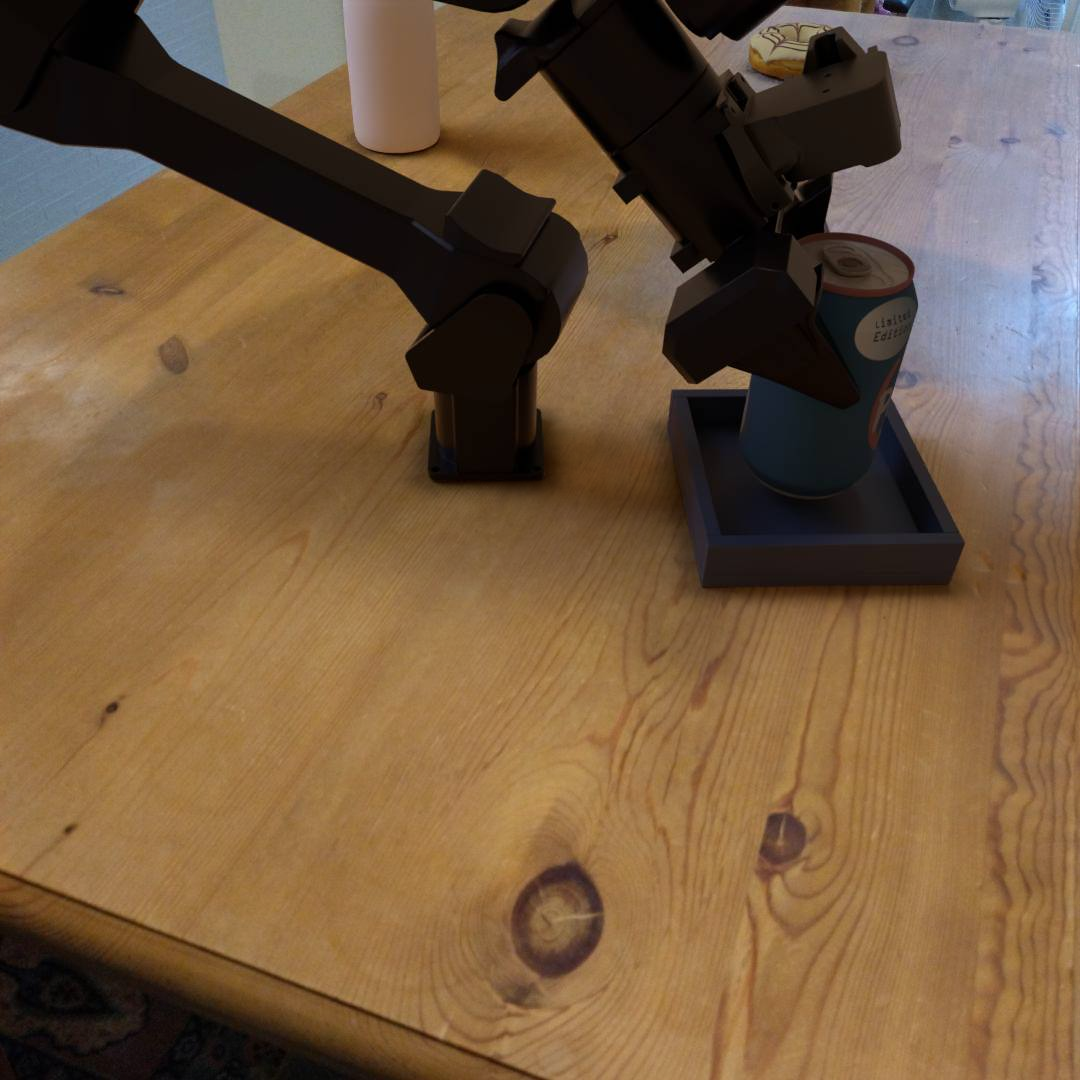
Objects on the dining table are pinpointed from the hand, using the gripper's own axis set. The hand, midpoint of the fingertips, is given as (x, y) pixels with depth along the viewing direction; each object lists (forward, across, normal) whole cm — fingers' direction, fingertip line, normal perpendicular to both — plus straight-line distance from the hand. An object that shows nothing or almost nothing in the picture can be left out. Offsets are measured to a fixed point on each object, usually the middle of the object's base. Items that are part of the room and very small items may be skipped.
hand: (854, 364), depth 52 cm
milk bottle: (-21, +43, +35) cm, 59 cm away
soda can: (+4, 0, +6) cm, 7 cm away
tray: (+6, 0, +7) cm, 9 cm away
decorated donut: (+2, +74, +10) cm, 74 cm away
